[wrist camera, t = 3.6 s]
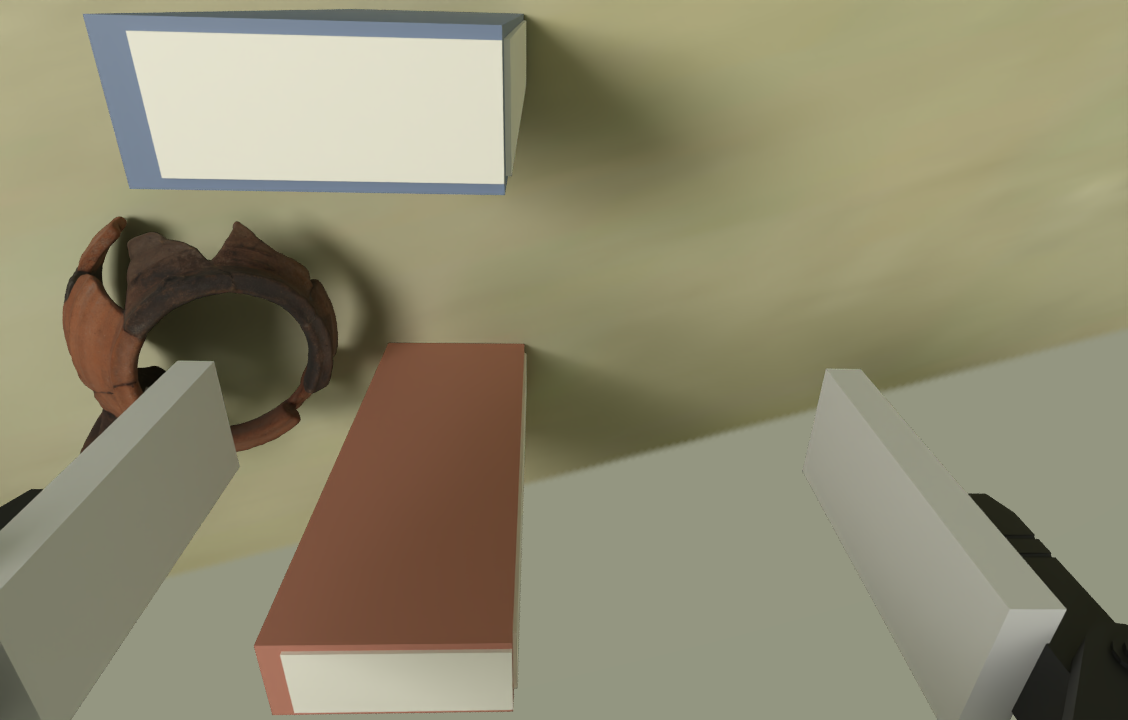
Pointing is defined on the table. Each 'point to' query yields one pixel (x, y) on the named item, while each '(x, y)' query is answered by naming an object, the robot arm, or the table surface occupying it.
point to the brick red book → (411, 547)
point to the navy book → (314, 99)
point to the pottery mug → (172, 279)
